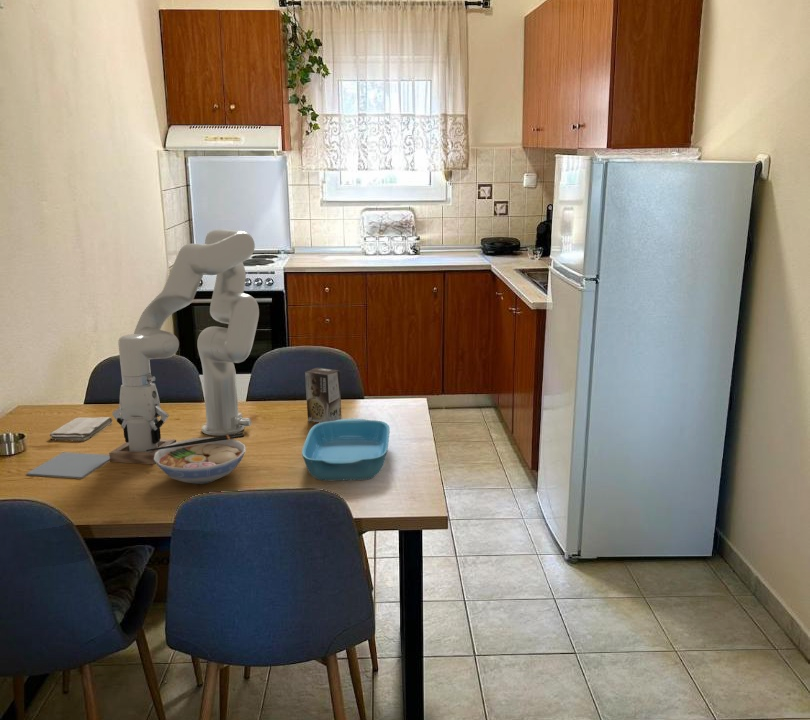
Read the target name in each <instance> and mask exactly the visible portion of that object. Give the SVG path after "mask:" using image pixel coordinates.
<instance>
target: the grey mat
mask: <svg viewBox="0 0 810 720" xmlns="http://www.w3.org/2000/svg"><path fill="white" fill-rule="evenodd" d="M109 462H110V456H109V454H98V453H81V452H67V451H66V452H65V451H64V452H61V453H59V454H58V455H56V456H54V457H52V458H51V459H49V460H47V461H45V462H44V463H42V464H40V465H39V466H37V467H34V468H33V469H31V470H29V471H28V472H26V476H34V477H35V476H36V477H48V478H49V477H50V478H51V477H52V478H63V479H64V478H65V479H80V480H81V479H82V480H83V479H84V478H85V477H87V476H89V475H90V474H92V473H94V472H95V471H96V470H98V469H100V468H101V467H102V466H105V464H107V463H109Z"/></svg>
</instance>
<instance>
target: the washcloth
mask: <svg viewBox="0 0 810 720" xmlns="http://www.w3.org/2000/svg"><path fill="white" fill-rule="evenodd" d="M112 423H113V418H112V417H111V416H107V417H106V416H105V417H104V416H100V417H80V416H79V417H76V418H73V419H72V420H70V421H68V422H67V423H65V424H63V425H61V426H60V427H58V428H57V429H55V430H54V431H51V432H50V434H49V437H51V438H50V439H56V440H73V441H72V442H85V441H87V440H90V439H91V438H93V437H95V436H96V435H97V434H99V433H100V432H102V431H103V430H105V429H106V428H107V427H109V426H110V425H112ZM108 425H109V426H108ZM106 426H107V427H106ZM105 427H106V428H105ZM101 430H102V431H101ZM98 432H99V433H98ZM94 435H95V436H94ZM90 437H91V438H90ZM56 440H55V441H56Z"/></svg>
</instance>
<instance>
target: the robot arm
mask: <svg viewBox="0 0 810 720" xmlns="http://www.w3.org/2000/svg"><path fill="white" fill-rule="evenodd" d="M204 239H205V240H204V244H203V243H187V244H184V245H183V246H182V247H180V249H179V250H178V253H177V255H176V258H175V260H174V262H173V265H172V267H171V270H170V273H169V275H168V277H167V278H166V282H165V284H164V286H163V289H162V290H161V292H160V293H159V294H157V296H155V298H154V299H152V301H151V302H150V303H149V304H148V305H147V307H145V308H144V310H143V312H142V313H141V314H140V316H139V319H138V321H137V324H136V326H135V329H134V332H133V333H130V334H126V335H122V336H120V337H119V339H118V352H119V363H120V372H121V383H122V384H121V385H120V389H119V390H120V391H119V407H118V408H116V409H115V410H114V411H113V412H111V415H112V416H113V418H114V419H115V420H116V422H117V423H118V424H119V425H120V428H121V429H123V438H124V441H125V442H124V443H126V442H129V441H128V431H127V420H128V419H129V418H130V417H129V416H131V417H144V418H143V419H144V420H146V421H150V425H151V426H152V428H153V430H152V431H151V434H152V443H153V444H156V443H157V442H159V441H160V439H162V437H161V436H162V435H161V427H162V426H163V425H164V424H165V423H166V421H167V419H168V418H169V417H170V416H169V413H167V412H166V411H165V410H163V408H161V403H160V397H159V393H158V389H157V385H156V383H155V381H156V377H155V376H152V373H151V362H150V360H158V359H159V360H160V359H168V358H172V356H174V355H175V354H177V351H178V350H179V347H180V341H179V339H178V337H177V336H176V335H175V334H174V333H172V332H170V331H168V330H163V329H162V328H163V325H164V323H165V322H166V320H168V319H169V317H170V316H171V315H173V314H174V313H176V312H177V311H181V310H182V309H184V308H186V307H187V306H189V305H190V304H192V303H193V301H194V299H195V296H196V294H197V292H198V289H199V285H200V284H201V281H202V278H203V277H204V275H205V276H215V275H216V277H215V278H216V279H215V281H214V282H215V284H214V287H213V292H212V296H211V301H210V306H209V315H210V317H212V319H213V320H215V322H219V323H221V324H227V327H221V326H214V325H213V326H209V327H206V328H204V329H202V331H201V332H200V333H199V335H198V338H197V350H198V354H199V355H198V356H199V358H200V362H201V368H202V376H203V377H202V378H203V390H204V391H203V393H204V404H205V405H204V406H205V417H206V423H205V424H203V425H202V426H201V431H202V433H204V434H206V435H209V436H213V437H214V436H215V437H220V436H225V435H231V434H236V433H241V432H242V431H243V430H244V429H245V427H252V426H251V425H252V420H251V418H250V417H243V415H242V412H239V403H238V388H237V373H236V372H237V371H236V368H235V364H240V363H243V362H245V361H246V359H247V358H248V357H249V355H250V354H251V351H252V349H253V345H254V341H255V336H256V333H257V332H256V331H257V328H258V322H259V317H260V308H259V304H258V302H257V300H256V298H255V297H253V296H252V295H250V294H248V293H245V292H244V291H245V284H246V279H247V278H246V277H247V274H246V273H247V272H246V269H245V268H246V267H245V265H244V262H246V261H248V260H249V259H250V258H251V257H252V255H253V254H254V251H255V248H256V247H255V246H256V244H255V240H254V237H253V236H252V235H251V234H249V233H248V232H246V231H242V230H233V229H213V230H211V231H209V232H208V233H207V235H206V236H205V238H204ZM159 417H160V419H159ZM154 420H155V422H154Z"/></svg>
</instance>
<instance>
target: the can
mask: <svg viewBox="0 0 810 720" xmlns="http://www.w3.org/2000/svg"><path fill="white" fill-rule="evenodd" d="M129 417H130V418H129V419H128V420H127V431H128V441H129V450H130V451H131V452H148V453H150V452H152V451H153V450H152V451H146V450H149V449H154V448H158V444H157V443H156V444H153V443H152V434H151V431H152V430H153V428H152V426H151V425H150V421H146V420H144V419H143V418H144V417H131V416H129ZM154 422H155V420H154Z"/></svg>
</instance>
